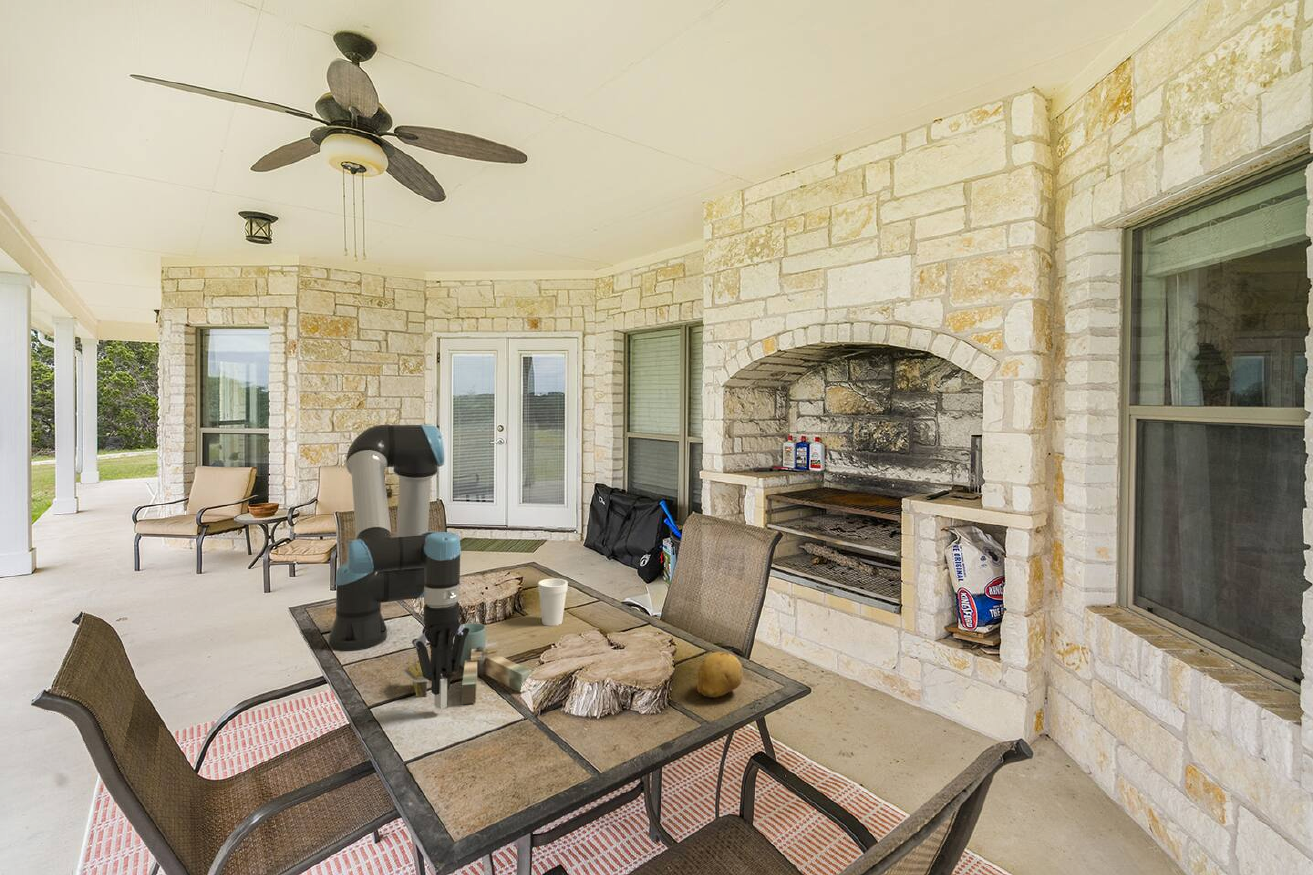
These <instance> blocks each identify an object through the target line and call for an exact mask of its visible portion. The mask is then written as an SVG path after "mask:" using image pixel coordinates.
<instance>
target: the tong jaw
mask: <svg viewBox="0 0 1313 875" xmlns="http://www.w3.org/2000/svg"><path fill="white" fill-rule="evenodd" d="M483 649H484V648H483V647H477V648H476V649H472V650H471V660H465V665H464V667H463V675H462V681H461V682H462V683H461V684H462V685H461V705H469V704H475V703H476V701H477V700H476V699H477V698H476V697H477V685H478V684H477V683H478V676H477V660H481V659H482V651H483Z"/></svg>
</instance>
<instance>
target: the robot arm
mask: <svg viewBox="0 0 1313 875" xmlns="http://www.w3.org/2000/svg"><path fill="white" fill-rule="evenodd" d="M444 464H445V448H444V442H443V437H442V432H441V431H440V429H439V428H438V427H437V426H436V425H427V424H426V425H425V424H377V425H374V426H371V427H369V428H367V429H365V430H363V431H362V432H361V433H360V434H359V435H358V436H357V437H356V438H355V439H354V440H353V442H351V445H350V446H349V447H348V450H347V453H346V469H347V472H348V474H350V475H351V484H352V498H353V515H354V528H355V529H354V530H355V539H353V540H349V541H348V543H347V549H346V550H347V552H346V555H347V556H346V557H347V562H345V563H342V564H341V565H339V567H338V568H337V571H336V579H335V586H336V593H335V595H336V596H335V600H336V601H335V603H336V605H335V618H334V622H333V624H332V627H331V630H330V633H329V635H328V646H329V647H331V648H332V649H334V650H338V651H356V650H357V651H358V650H365V649H369V648H372V647H375V646H378V645H380V644H382V643H383V642H385V641H386V640H387V639H388V638H387V637H388V629H387V625H386V623H385V620H384V618H383V614H382V611H381V608H382V607H381V604H382V603H390V602H398V601H405V600H406V601H407V600H418V599H421V598H423V603H424V606H423V623H424V625H423V629H422V630H421V631H422V634H421V635H420V636H419V637H418V638H413V639H412V640H411V644H412V645H413V646H414V648H415V649H416V654H417V657H418V661H419V662H418V663H419V665H420V666H421V670H422V674H423V677H424V678H426V679H427V680H429V681H428V682H431V685H430V686H431V690H430V691H431V694H432V695H434V696H433V697H434V704H433V705H434V706H435V707H436V708H438V709H439V710H443V709H445V708H448V707H447V706H448V704H447V703H448V691H450V688H451V679H452V678H453V677H454V674H453V673H457V672H458V671H459V668H460V660H461V656H462V651H463V647H464V642H465V638H466V636H467V634H468V632H469V628H467V627H465V626H462V624H461V623H460V620H459V619H460V603H459V601H460V592H461V591H460V588H461V587H460V583H461V581H460V579H461V578H460V577H461V554H462V553H461V552H462V547H461V537H460V535H459V534H458V533H456V532H451V531H441V532H440V531H439V532H438V531H433V530H431V531H429V520H430V519H429V517H430V503H431V488H432V485H431V484H432V478H433V477H434V476H436V475H437V473H438V468H440V467H442V466H444ZM387 468H393V473H394V474H395V475H396V476H397V477H398V495H397V496H398V497H397V514H396V515H397V517H396V536H392V528H391V519H390V511H389V504H388V494H387V487H386V479H385V477H386V476H385V471H386V470H387ZM455 634H456V635H455ZM427 641H428V643H429V649H430V656H429V651H428V649H427V647H426V646H427V645H428V644H427Z"/></svg>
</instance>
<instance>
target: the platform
mask: <svg viewBox="0 0 1313 875" xmlns="http://www.w3.org/2000/svg"><path fill="white" fill-rule="evenodd" d="M403 673H404V675H406V676H407V678H409V679H410V680H411V682H412V684H413V689H414V692H415V696H416V697H417V698H419V697H422V696H424V697H425V698H427V695H428V694H427V693H428V692H427V691H428V690H427V688H428V687H427V686H428V684H427V683H428V682H430V681H429V680H427V679H426V678H424V677H423V674H422V670H421V666H420V663H419V662H417V661H416V662H415V663H414V664H411V663H409V665H408V667H407V668H406V669H404V672H403Z"/></svg>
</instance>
